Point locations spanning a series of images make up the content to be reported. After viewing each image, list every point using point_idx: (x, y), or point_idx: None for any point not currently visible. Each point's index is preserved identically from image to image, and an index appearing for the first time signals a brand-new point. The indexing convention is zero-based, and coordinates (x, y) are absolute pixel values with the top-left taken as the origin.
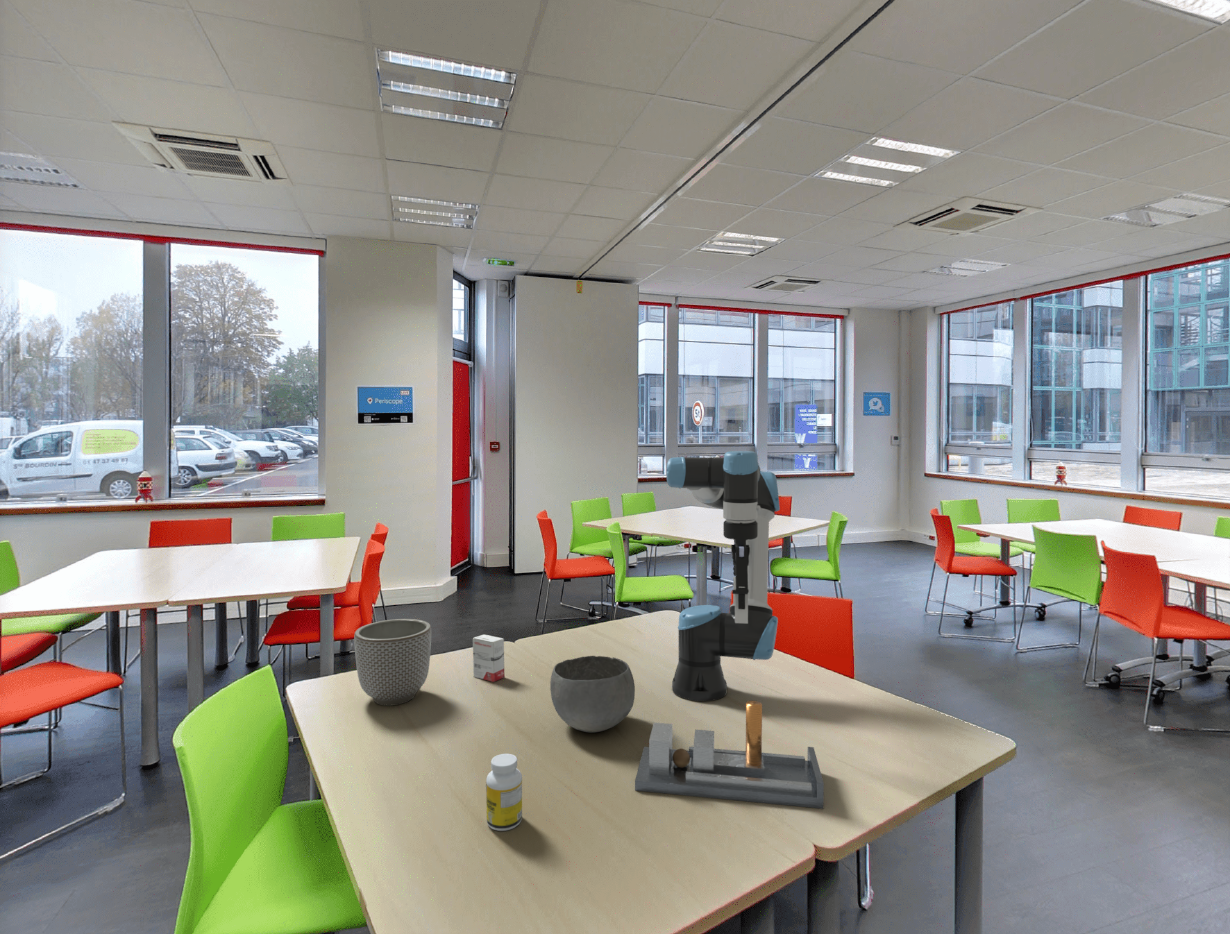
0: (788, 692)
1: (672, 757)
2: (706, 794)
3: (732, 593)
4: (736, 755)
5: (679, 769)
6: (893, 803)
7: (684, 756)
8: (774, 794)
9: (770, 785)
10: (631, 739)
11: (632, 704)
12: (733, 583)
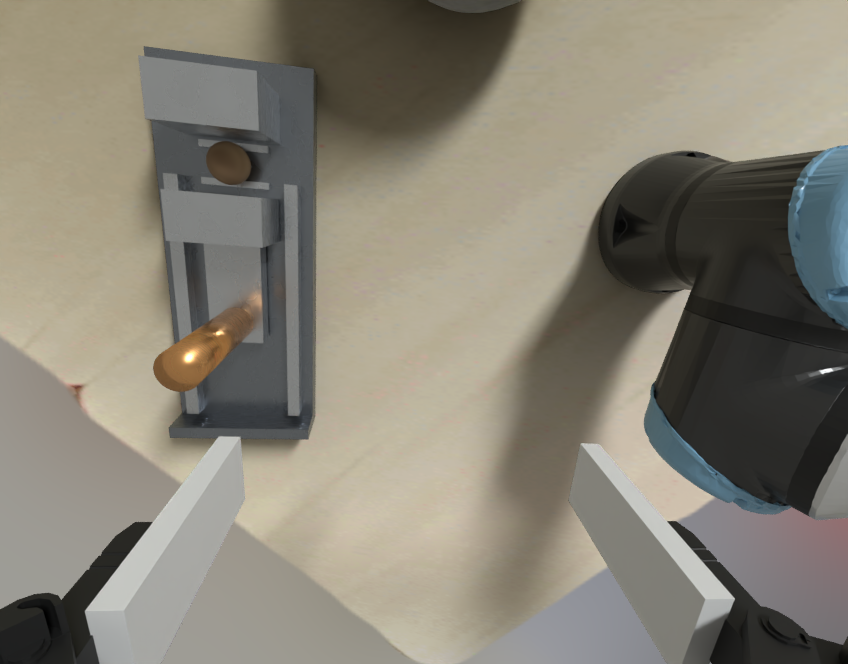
0: (633, 414)
1: (273, 144)
2: None
3: (15, 602)
4: (256, 290)
5: None
6: None
7: (210, 170)
8: None
9: None
10: (394, 38)
11: (450, 7)
12: (666, 549)
